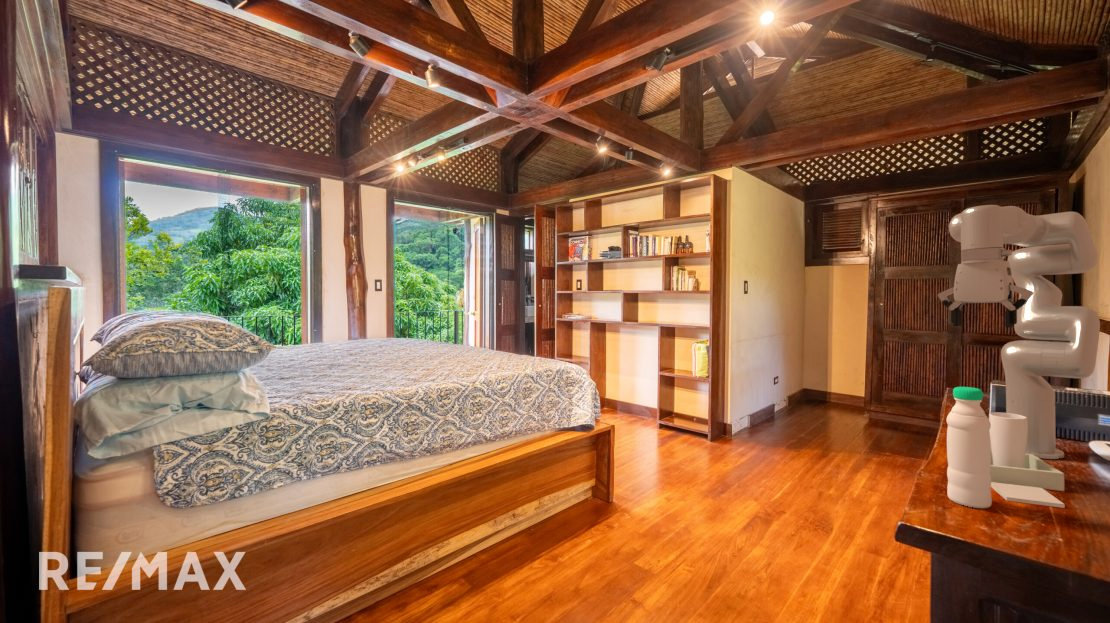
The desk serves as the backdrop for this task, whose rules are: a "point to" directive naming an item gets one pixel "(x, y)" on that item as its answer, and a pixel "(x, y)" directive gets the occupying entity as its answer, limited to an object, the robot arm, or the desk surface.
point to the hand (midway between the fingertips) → (982, 326)
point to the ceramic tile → (1026, 494)
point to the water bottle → (968, 450)
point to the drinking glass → (1008, 439)
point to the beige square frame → (1029, 474)
